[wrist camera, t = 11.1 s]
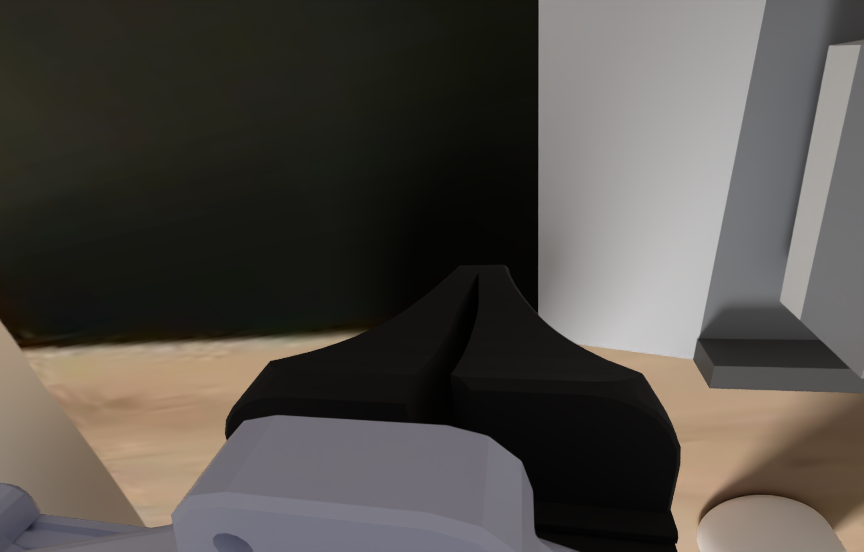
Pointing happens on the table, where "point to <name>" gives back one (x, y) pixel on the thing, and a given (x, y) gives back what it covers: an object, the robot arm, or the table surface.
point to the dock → (683, 179)
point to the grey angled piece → (833, 214)
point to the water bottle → (766, 527)
